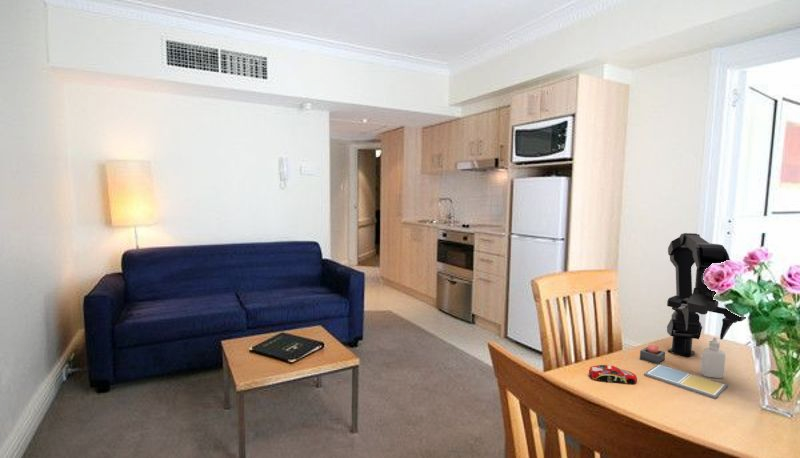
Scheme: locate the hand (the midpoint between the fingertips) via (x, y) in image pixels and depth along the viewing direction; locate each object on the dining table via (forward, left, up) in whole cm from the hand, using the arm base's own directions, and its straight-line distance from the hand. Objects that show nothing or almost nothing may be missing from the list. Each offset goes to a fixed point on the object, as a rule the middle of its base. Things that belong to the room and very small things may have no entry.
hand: (703, 334), depth 122 cm
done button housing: (-1, -14, -13) cm, 19 cm away
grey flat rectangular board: (+8, -2, -13) cm, 15 cm away
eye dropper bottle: (-3, +2, -13) cm, 14 cm away
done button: (-1, -14, -10) cm, 17 cm away
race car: (+24, -16, -14) cm, 32 cm away
